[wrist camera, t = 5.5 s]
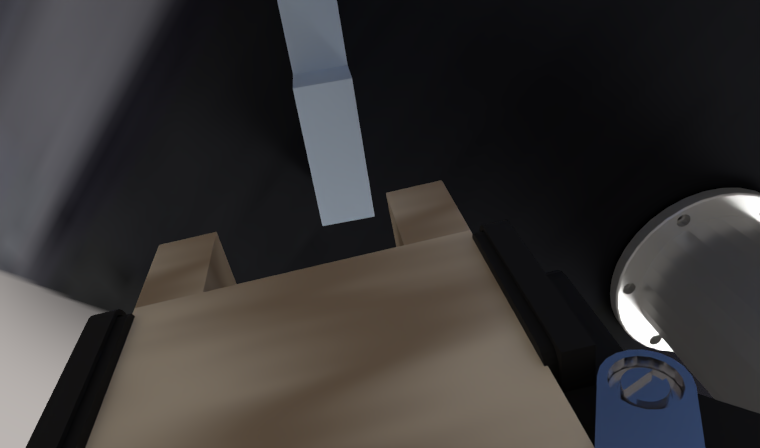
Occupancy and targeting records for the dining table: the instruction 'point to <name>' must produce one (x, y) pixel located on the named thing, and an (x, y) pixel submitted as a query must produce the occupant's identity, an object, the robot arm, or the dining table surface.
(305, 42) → the plain gray rectangular bar
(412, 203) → the notched wooden block
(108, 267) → the dining table surface
